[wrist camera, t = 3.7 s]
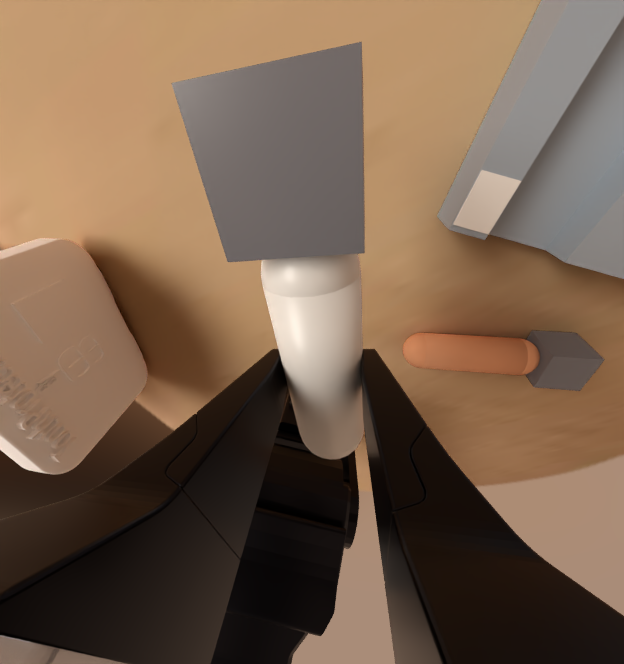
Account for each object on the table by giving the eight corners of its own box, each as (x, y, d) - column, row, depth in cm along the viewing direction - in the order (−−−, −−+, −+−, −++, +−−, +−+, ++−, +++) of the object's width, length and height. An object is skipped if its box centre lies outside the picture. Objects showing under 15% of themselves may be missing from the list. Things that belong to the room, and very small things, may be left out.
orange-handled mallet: (398, 352, 22) (402, 376, 20) (404, 323, 21) (408, 347, 18) (556, 362, 20) (579, 390, 18) (576, 332, 19) (604, 359, 17)
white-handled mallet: (367, 418, 12) (367, 481, 10) (306, 415, 13) (294, 474, 11) (362, 76, 6) (361, 41, 4) (239, 99, 6) (171, 83, 4)
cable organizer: (-26, 226, 21) (-324, 297, 12) (93, 229, 20) (-141, 314, 11) (75, 366, 30) (-53, 470, 21) (162, 375, 29) (67, 491, 20)
